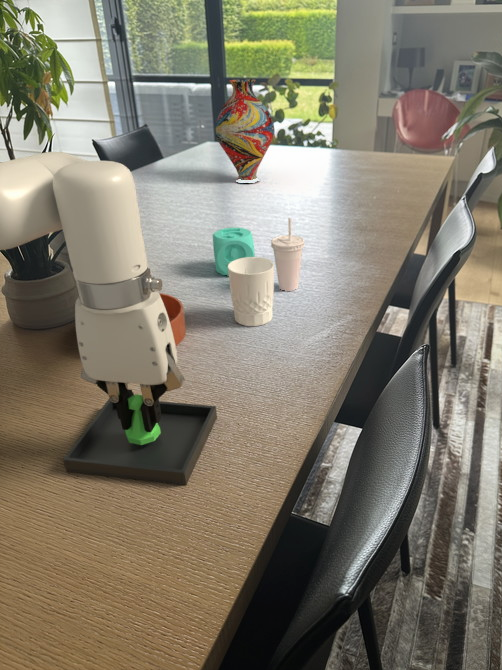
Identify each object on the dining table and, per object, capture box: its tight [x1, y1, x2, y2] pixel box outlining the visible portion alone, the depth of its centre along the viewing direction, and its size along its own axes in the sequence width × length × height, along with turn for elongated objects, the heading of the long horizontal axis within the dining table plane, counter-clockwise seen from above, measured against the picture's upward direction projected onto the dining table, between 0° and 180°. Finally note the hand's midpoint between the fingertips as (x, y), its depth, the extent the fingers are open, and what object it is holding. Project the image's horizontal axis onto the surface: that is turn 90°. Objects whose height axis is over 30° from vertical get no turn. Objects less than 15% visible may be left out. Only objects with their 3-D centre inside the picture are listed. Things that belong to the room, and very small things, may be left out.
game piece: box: [125, 393, 161, 445], centre depth 67 cm, size 4×4×6 cm
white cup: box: [228, 256, 275, 327], centre depth 96 cm, size 8×8×10 cm
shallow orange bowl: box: [158, 292, 187, 347], centre depth 93 cm, size 16×16×4 cm
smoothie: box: [270, 217, 305, 292], centre depth 106 cm, size 6×6×14 cm
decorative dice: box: [212, 227, 256, 277], centre depth 116 cm, size 8×8×8 cm
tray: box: [62, 398, 218, 486], centre depth 69 cm, size 15×13×2 cm
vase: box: [215, 78, 275, 180], centre depth 176 cm, size 19×19×30 cm
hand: (141, 423), depth 68 cm, fingers closed on game piece, 2 cm apart
